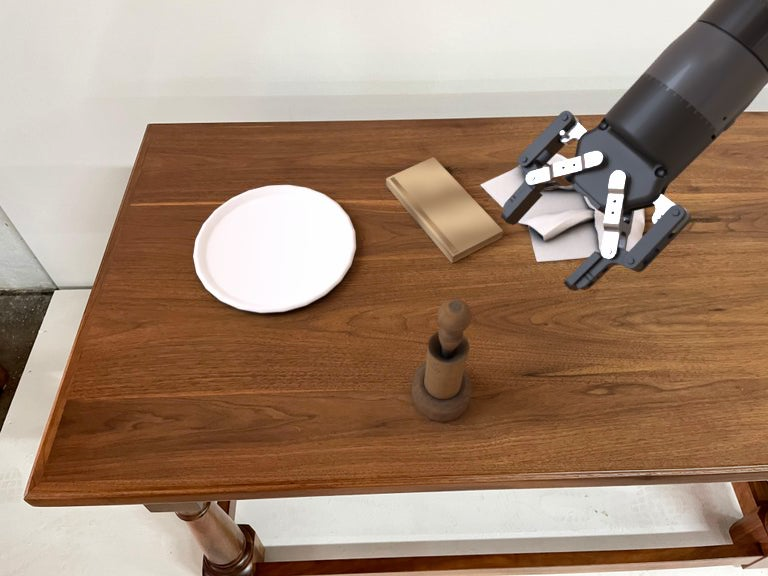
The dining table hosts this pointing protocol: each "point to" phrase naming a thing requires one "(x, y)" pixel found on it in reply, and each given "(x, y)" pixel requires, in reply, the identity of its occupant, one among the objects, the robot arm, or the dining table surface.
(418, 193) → the cutting board
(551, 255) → the cloth
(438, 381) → the mortar and pestle
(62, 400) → the dining table surface
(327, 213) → the plate
